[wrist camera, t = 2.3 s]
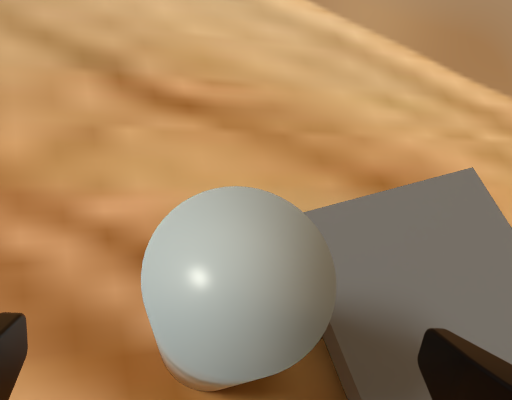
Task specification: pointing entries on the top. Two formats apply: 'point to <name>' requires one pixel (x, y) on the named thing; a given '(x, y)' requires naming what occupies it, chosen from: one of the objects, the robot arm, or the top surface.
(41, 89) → the top surface
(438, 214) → the shelf board
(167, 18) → the top surface
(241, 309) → the white dome-topped cylinder
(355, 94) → the top surface
